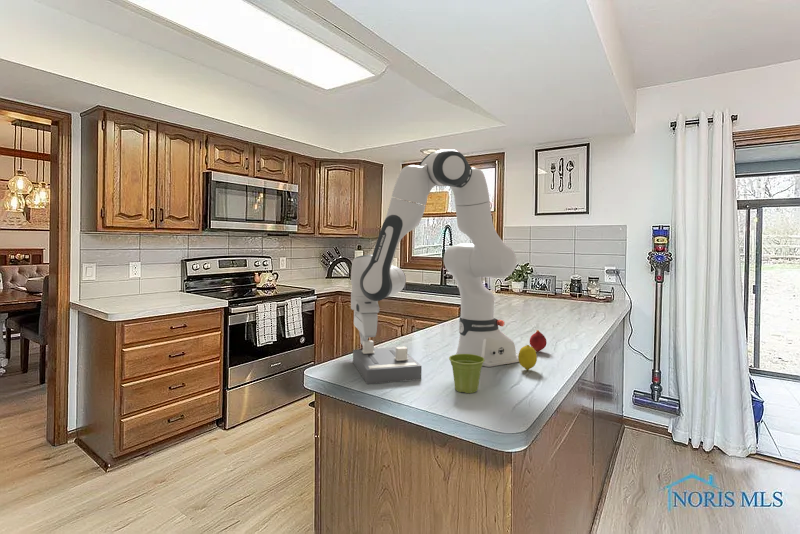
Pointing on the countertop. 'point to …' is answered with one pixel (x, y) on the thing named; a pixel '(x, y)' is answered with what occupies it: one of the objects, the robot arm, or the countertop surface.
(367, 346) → the block
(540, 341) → the onion
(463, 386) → the plant pot
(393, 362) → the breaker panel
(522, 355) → the lemon
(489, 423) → the countertop surface
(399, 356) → the block
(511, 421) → the countertop surface
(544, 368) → the countertop surface
